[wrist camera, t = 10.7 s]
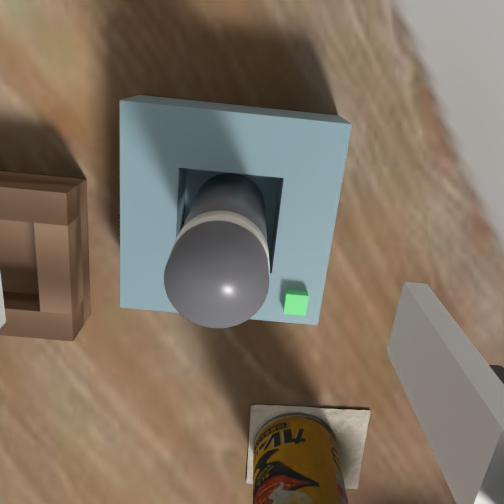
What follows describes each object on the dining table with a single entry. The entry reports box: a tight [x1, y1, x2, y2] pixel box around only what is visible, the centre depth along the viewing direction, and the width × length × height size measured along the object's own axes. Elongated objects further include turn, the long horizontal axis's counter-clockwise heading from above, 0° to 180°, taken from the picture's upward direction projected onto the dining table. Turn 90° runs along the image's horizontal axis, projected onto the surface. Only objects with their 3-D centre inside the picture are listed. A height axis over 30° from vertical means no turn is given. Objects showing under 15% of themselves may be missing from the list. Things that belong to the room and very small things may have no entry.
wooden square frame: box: [0, 171, 91, 341], centre depth 28 cm, size 9×9×3 cm
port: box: [120, 95, 352, 325], centre depth 26 cm, size 11×11×5 cm
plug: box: [164, 173, 270, 328], centre depth 23 cm, size 4×4×10 cm
